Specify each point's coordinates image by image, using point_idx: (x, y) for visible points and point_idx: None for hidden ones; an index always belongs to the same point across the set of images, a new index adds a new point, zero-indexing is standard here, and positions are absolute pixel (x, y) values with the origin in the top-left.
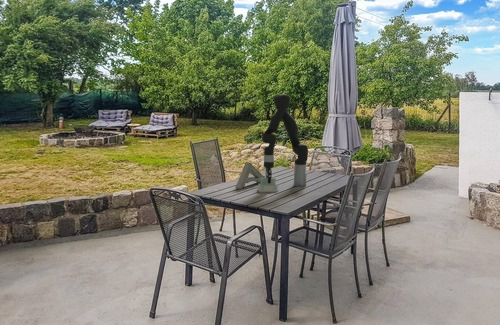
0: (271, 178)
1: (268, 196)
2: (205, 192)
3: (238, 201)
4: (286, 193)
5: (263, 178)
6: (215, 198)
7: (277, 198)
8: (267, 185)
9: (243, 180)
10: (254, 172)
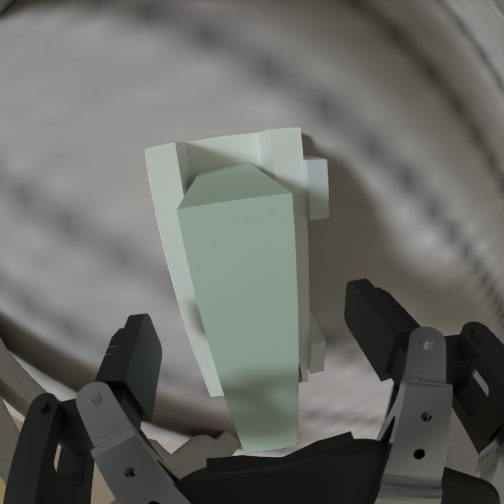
0: (295, 317)
1: (451, 247)
2: None
3: None
4: (367, 51)
5: (296, 427)
6: None
7: (492, 184)
8: (306, 301)
9: None
10: None
